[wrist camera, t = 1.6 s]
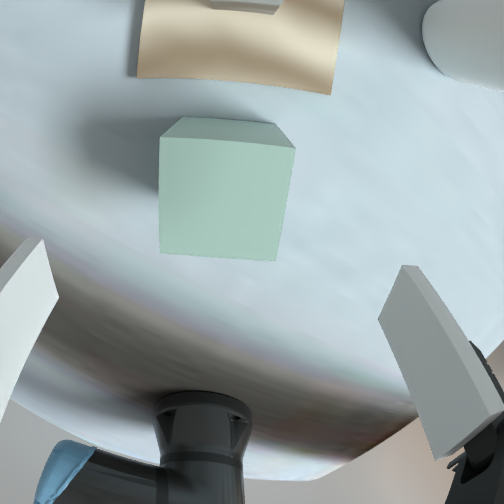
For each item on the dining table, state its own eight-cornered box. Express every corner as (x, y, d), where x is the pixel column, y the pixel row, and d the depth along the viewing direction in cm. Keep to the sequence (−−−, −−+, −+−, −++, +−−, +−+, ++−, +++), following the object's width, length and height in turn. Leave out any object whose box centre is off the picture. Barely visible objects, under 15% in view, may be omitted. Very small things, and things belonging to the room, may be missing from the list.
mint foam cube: (263, 207, 26) (275, 261, 19) (178, 200, 25) (160, 253, 19) (275, 124, 22) (295, 148, 16) (183, 116, 22) (159, 137, 15)
